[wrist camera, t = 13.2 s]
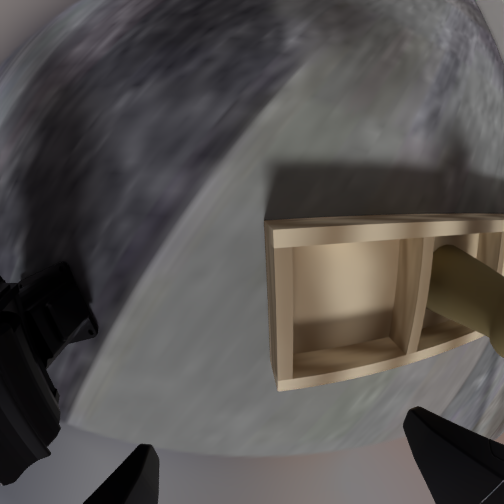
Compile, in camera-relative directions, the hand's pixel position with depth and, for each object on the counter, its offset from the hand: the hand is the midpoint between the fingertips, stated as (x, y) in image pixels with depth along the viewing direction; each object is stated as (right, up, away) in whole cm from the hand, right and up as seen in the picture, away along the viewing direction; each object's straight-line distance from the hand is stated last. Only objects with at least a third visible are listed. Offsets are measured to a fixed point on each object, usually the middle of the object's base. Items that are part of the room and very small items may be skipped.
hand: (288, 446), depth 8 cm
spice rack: (+15, +4, +14) cm, 21 cm away
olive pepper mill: (+15, +4, +13) cm, 20 cm away
